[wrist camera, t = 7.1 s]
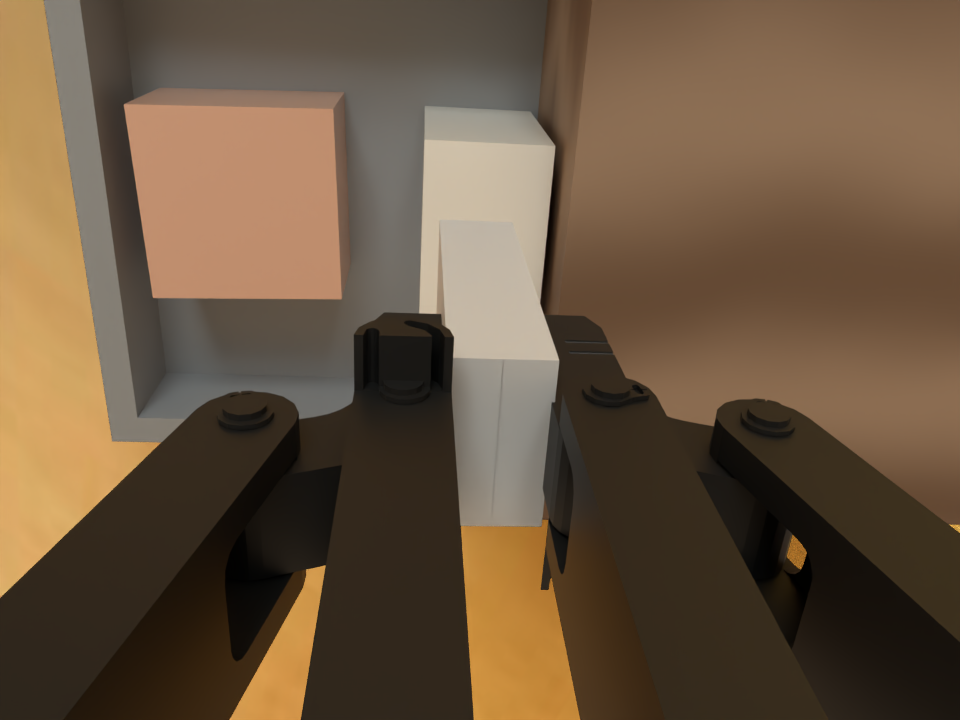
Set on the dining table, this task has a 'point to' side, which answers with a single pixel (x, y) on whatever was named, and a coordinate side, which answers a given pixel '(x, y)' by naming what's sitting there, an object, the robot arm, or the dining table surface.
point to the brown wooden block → (768, 212)
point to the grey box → (370, 171)
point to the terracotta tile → (242, 192)
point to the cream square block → (484, 182)
